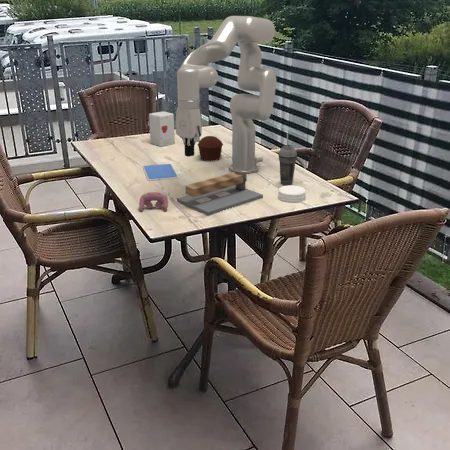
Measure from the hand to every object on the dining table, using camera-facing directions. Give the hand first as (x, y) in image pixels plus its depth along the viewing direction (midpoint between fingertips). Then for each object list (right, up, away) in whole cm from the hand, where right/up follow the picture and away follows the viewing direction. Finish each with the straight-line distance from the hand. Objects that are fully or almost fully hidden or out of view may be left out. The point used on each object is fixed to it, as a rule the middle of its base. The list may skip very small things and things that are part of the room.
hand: (189, 155), depth 200 cm
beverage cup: (+37, -9, +18) cm, 42 cm away
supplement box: (-18, +15, +75) cm, 79 cm away
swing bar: (+10, -11, +1) cm, 15 cm away
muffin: (+6, +5, +51) cm, 51 cm away
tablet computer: (-14, -4, +32) cm, 36 cm away
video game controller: (-12, -20, -6) cm, 24 cm away
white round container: (+37, -15, +4) cm, 41 cm away
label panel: (+11, -16, +2) cm, 19 cm away
